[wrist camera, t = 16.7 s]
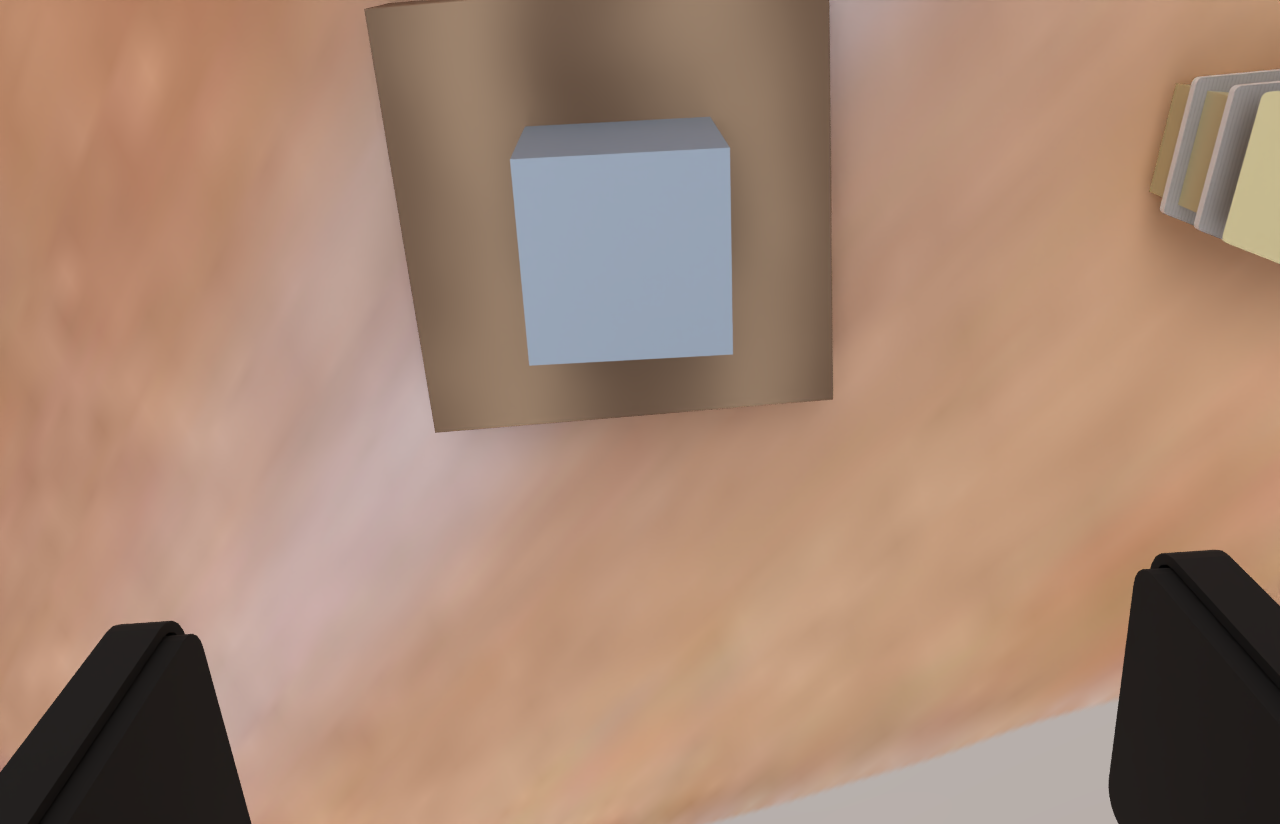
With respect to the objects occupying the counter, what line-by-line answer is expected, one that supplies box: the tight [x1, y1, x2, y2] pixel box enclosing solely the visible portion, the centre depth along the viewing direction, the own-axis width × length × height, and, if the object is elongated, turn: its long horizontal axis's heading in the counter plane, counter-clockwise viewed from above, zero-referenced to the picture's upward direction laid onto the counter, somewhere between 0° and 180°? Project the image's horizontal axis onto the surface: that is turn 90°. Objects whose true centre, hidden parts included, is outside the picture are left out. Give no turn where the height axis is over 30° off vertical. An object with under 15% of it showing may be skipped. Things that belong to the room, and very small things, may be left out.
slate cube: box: [510, 117, 733, 366], centre depth 28 cm, size 5×5×5 cm
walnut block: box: [364, 0, 833, 433], centre depth 32 cm, size 12×12×4 cm
